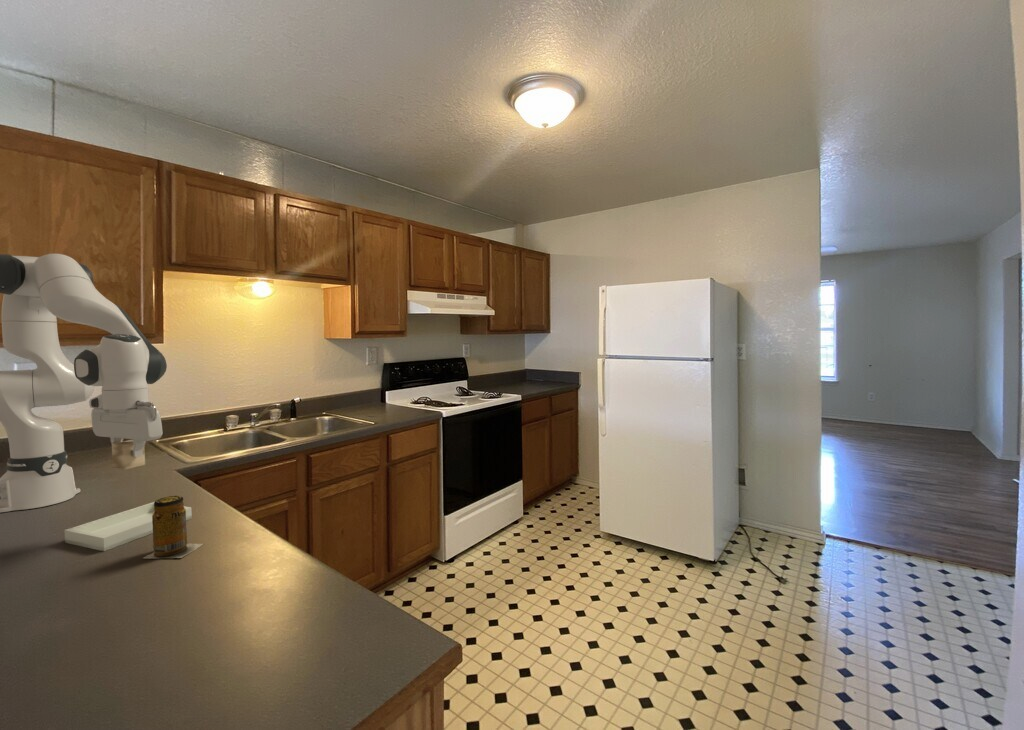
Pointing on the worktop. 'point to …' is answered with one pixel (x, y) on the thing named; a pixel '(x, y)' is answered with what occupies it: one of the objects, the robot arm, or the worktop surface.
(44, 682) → the worktop surface
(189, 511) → the shallow rimmed tray
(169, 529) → the condiment
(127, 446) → the birch block
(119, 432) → the robot arm
